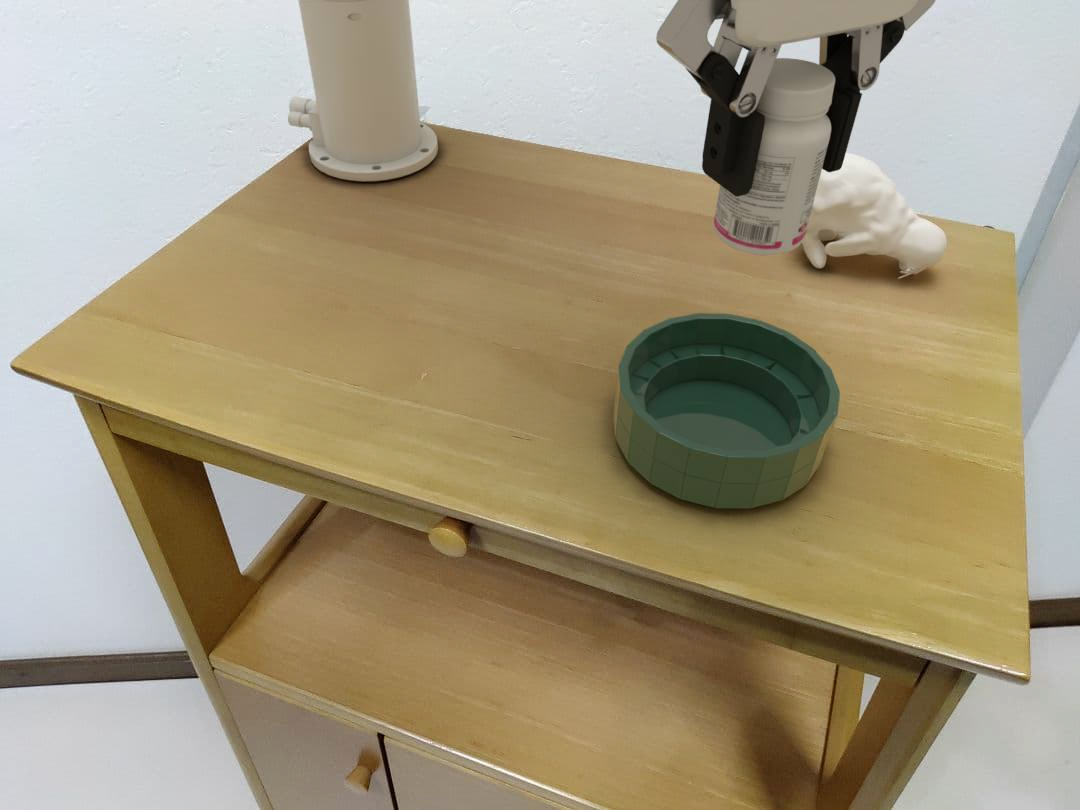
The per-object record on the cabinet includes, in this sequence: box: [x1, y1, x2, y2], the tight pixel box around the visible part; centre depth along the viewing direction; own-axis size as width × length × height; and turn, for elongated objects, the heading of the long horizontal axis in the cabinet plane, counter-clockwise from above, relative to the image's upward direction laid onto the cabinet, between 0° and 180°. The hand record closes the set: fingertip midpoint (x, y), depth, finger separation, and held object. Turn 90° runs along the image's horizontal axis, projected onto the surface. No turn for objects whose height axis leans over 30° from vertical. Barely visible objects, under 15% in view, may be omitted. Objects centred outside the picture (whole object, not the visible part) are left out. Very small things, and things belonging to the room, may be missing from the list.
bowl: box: [612, 312, 841, 510], centre depth 52 cm, size 13×13×5 cm
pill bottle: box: [713, 57, 835, 256], centre depth 40 cm, size 5×5×8 cm
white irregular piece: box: [801, 152, 947, 279], centre depth 66 cm, size 6×8×12 cm
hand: (771, 168), depth 41 cm, fingers closed on pill bottle, 4 cm apart
